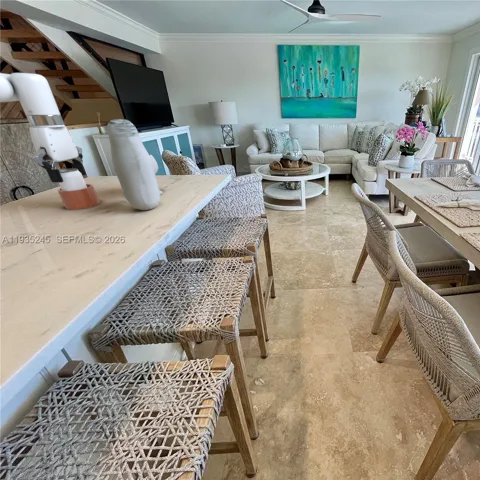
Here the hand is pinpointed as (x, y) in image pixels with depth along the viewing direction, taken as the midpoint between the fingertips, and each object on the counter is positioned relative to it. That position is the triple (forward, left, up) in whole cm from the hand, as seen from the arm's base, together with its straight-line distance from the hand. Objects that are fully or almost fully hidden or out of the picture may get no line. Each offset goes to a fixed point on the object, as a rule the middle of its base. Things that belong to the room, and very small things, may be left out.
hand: (70, 178), depth 87 cm
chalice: (+18, -6, -10) cm, 22 cm away
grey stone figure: (+9, -21, -10) cm, 25 cm away
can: (0, 0, -10) cm, 10 cm away
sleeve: (0, 0, -10) cm, 10 cm away
